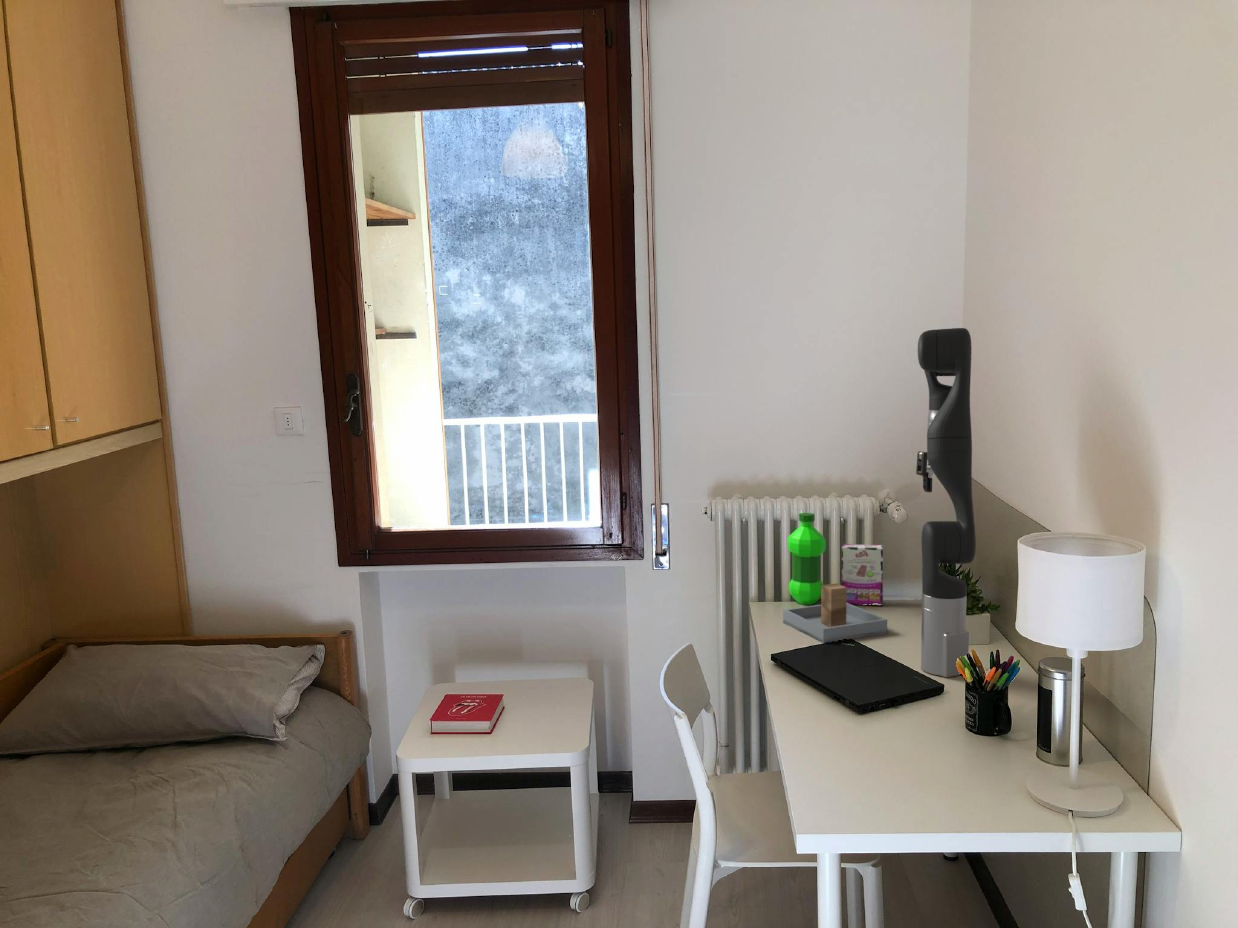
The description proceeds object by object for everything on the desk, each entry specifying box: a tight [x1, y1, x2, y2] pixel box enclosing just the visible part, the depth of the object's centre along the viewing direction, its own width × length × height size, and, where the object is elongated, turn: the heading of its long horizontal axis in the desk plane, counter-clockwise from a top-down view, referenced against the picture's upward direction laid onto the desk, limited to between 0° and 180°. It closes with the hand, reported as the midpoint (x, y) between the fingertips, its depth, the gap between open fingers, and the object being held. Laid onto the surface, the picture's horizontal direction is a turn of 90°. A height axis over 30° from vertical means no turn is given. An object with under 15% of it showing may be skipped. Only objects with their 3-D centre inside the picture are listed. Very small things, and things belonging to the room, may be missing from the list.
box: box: [782, 603, 888, 644], centre depth 239 cm, size 19×19×4 cm
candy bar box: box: [841, 543, 884, 606], centre depth 261 cm, size 11×5×16 cm, turn 73°
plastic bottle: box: [787, 512, 827, 605], centre depth 263 cm, size 10×10×25 cm
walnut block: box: [820, 583, 847, 627], centre depth 239 cm, size 4×4×10 cm
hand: (941, 490), depth 240 cm, fingers open, 8 cm apart
